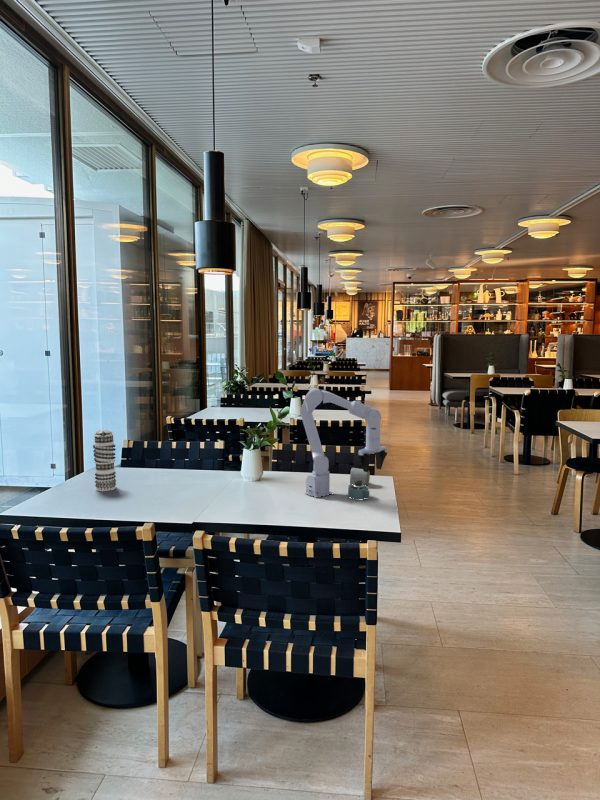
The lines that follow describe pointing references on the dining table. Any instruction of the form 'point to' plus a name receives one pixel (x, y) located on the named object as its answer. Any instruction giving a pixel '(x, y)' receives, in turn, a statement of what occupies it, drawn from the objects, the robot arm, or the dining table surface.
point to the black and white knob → (358, 484)
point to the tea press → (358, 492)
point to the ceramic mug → (359, 476)
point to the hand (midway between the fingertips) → (372, 470)
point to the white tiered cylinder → (104, 461)
